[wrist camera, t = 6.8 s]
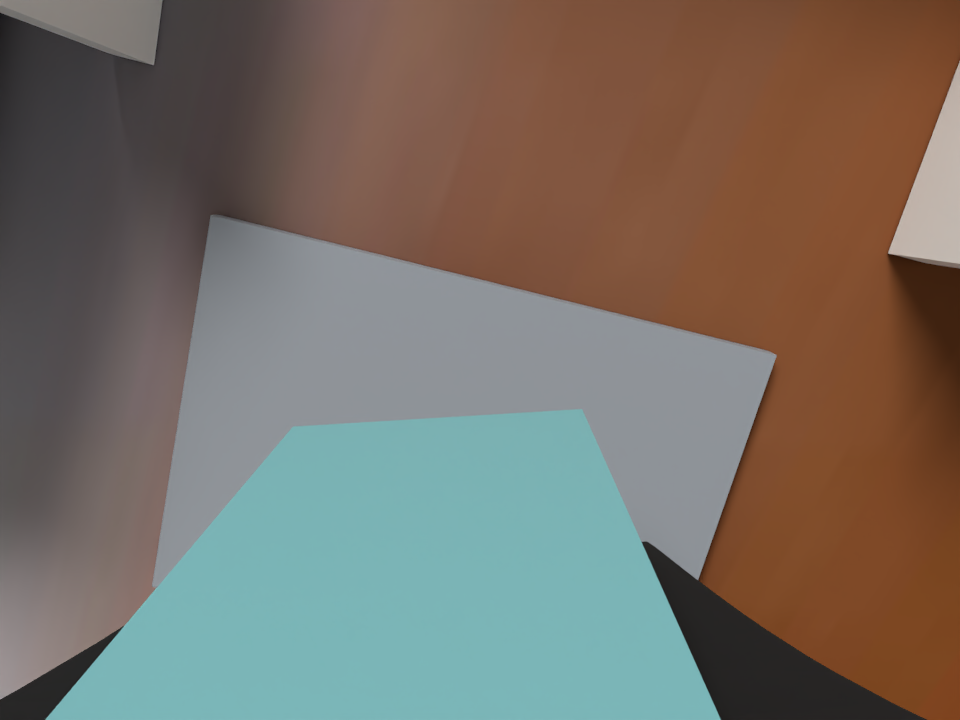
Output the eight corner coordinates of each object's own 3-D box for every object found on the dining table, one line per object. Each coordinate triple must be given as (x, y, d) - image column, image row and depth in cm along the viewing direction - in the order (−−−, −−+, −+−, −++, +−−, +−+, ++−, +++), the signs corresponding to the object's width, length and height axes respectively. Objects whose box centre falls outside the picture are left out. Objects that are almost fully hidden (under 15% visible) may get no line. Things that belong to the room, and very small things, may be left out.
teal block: (582, 408, 11) (738, 756, 4) (591, 664, 12) (728, 1283, 5) (292, 426, 11) (-17, 794, 4) (325, 679, 12) (116, 1302, 5)
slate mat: (768, 351, 18) (776, 355, 17) (651, 687, 20) (656, 699, 20) (218, 214, 17) (210, 214, 17) (160, 576, 19) (151, 586, 19)
